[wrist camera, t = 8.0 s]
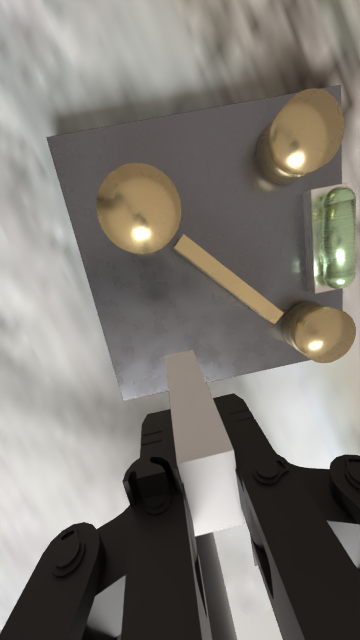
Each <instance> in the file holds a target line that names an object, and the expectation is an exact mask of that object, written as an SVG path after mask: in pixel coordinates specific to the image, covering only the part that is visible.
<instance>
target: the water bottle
mask: <svg viewBox="0 0 360 640" xmlns="http://www.w3.org/2000/svg"><path fill="white" fill-rule="evenodd" d="M195 540H196V547H197V552H198V556H199V560H200V565H201V571H202V578H203V584H204V591H205V597H206V603H207V610H208V616H209V623H210V629H211V635H212V640H237V637H236V632H235V628H234V624H233V619H232V615H231V610H230V606H229V601H228V597H227V592H226V588H225V584H224V579H223V575H222V570H221V566H220V562H219V557H218V553H217V548H216V544H215V539H214V535H213V532H210V533H207V534H203V535H199V536H195Z"/></svg>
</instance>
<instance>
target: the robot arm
mask: <svg viewBox="0 0 360 640" xmlns="http://www.w3.org/2000/svg"><path fill="white" fill-rule="evenodd" d="M164 357H165V366H166V374H167V383H168V391H169V400H170V408H171V409H169V410H164V411H160V412H156V413H151V414H148V415H147V416H146V418H145V420H144V422H143V424H142V432H141V436H142V438H141V450H140V458H139V459H138V460H136V461H135V462H134V463H132V465H131V466H130V467H129V469H128V470H127V471H126V473H125V476H124V479H123V485H124V488H125V491H126V494H127V497H128V500H129V502H130V505H129V507H128V508H127V509H126V510H125V511H124V512H123V513H121V514H120V515H119V516H117V517H116V518H115V519H113V520H111V521H110V522H108V523H106V524H105V525H103V526H101V527H100V528H98V529H96V528H95V527H94V526H93V525H92V524H88V523H85V522H83V523H78V524H73V525H72V526H70V527H68V528H67V529H65V530H63V531H62V532H61V533H60V534H59V535H58V536H57V537H55V538H54V539H53V540H52V541H51V543H50V544H49V546H48V547H47V549H46V550H45V552H44V553H43V554H42V556H41V558H40V560H39V562H38V564H37V566H36V568H35V569H34V571H33V573H32V575H31V577H30V579H29V581H28V583H27V584H26V586H25V588H24V590H23V592H22V594H21V596H20V598H19V599H18V601H17V603H16V605H15V607H14V609H13V611H12V613H11V614H10V616H9V618H8V620H7V622H6V624H5V626H4V628H3V629H2V632H1V634H0V640H212V635H211V629H210V623H209V616H208V610H207V603H206V597H205V591H204V584H203V578H202V571H201V565H200V560H199V556H198V552H197V547H196V540H195V536H199V535H203V534H207V533H210V532H214V531H218V530H222V529H226V528H230V527H233V526H237V525H241V524H245V520H246V523H247V526H248V529H249V532H250V537H251V543H252V550H253V557H254V563H255V566H257V565H258V566H259V569H260V572H261V575H262V578H263V581H264V584H265V587H266V590H267V593H268V596H269V599H270V602H271V605H272V608H273V611H274V614H275V617H276V620H277V623H278V626H279V629H280V632H281V635H282V638H283V640H360V456H358V455H342V456H339V457H336V458H335V459H334V460H333V461H332V462H331V464H330V469H315V468H304V467H299V466H296V465H293V464H290V463H288V461H287V460H286V459H285V458H283V457H281V456H280V455H278V454H277V453H276V452H275V451H274V450H273V448H272V446H271V445H270V443H269V441H268V440H267V438H266V436H265V435H264V433H263V432H262V430H261V428H260V427H259V425H258V423H257V422H256V420H255V419H254V417H253V415H252V413H251V412H250V411H249V408H248V407H247V405H246V403H245V402H244V400H243V399H241V398H240V397H238V396H237V395H235V394H229V395H225V396H221V397H216V398H212V395H211V393H210V390H209V388H208V385H207V383H206V381H205V378H204V376H203V373H202V371H201V368H200V366H199V363H198V361H197V358H196V356H195V354H194V351H193V350H189V351H185V352H180V353H175V354H171V355H166V356H164ZM244 517H245V520H244Z"/></svg>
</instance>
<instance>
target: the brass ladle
mask: <svg viewBox="0 0 360 640" xmlns="http://www.w3.org/2000/svg"><path fill="white" fill-rule="evenodd" d="M97 215H98V219H99V223H100V225H101V227H102V229H103V231H104V233H105V234H106V235H107V237H108V238H109V239H110V240H111V241H112V242H113V243H114V244H115V245H117V246H118V247H120V248H121V249H124V250H126V251H128V252H132V253H138V254H147V253H153V252H156V251H158V250H160V249H162V248H163V247H164V246H166V245H167V244H168V243H169V242H170V241H171V239H172V238H173V237H174V235H175V233H176V232H177V229H178V227H179V224H180V220H181V202H180V197H179V194H178V192H177V189H176V187H175V186H174V184H173V182H172V181H171V180H170V179H169V177H168V176H167V175H166V174H164V173H163V172H162V171H161V170H159V169H157V168H156V167H154V166H151V165H148V164H144V163H129V164H125V165H122V166H120V167H118V168H116V169H115V170H113V171H112V172H111V173H110V174H109V175H108V176H107V177H106V178H105V180H104V181H103V183H102V185H101V187H100V189H99V192H98V196H97ZM172 249H174V250H175V251H176V252H178V253H179V254H180V255H182V256H183V257H184V258H185V259H187V260H188V261H189V262H191V263H192V264H193V265H195V266H196V267H197V268H199V269H200V270H201V271H202V272H204V273H205V274H206V275H208V276H209V277H210V278H212V279H213V280H214V281H216V282H217V283H218V284H220V285H221V286H222V287H223V288H225V289H226V290H227V291H229V292H230V293H231V294H233V295H234V296H235V297H237V298H238V299H239V300H241V301H242V302H243V303H244V304H246V305H247V306H248V307H250V308H251V309H252V310H254V311H255V312H256V313H258V314H259V315H260V316H262V317H263V318H265V319H267V320H268V321H270V322H272V323H273V324H275V323H276V322H277V321H278V319H279V318H280V317H281V316H282V315H283V312H282V311H281V310H280V309H278V308H277V307H276V306H274V305H273V304H272V303H271V302H269V301H268V300H267V299H266V298H264V297H263V296H262V295H260V294H259V293H258V292H257V291H255V290H254V289H253V288H252V287H250V286H249V285H248V284H247V283H245V282H244V281H243V280H241V279H240V278H239V277H238V276H236V275H235V274H234V273H233V272H231V271H230V270H229V269H228V268H226V267H225V266H224V265H222V264H221V263H220V262H219V261H217V260H216V259H215V258H214V257H212V256H211V255H210V254H209V253H207V252H206V251H205V250H203V249H202V248H201V247H200V246H198V245H197V244H196V243H195V242H193V241H192V240H191V239H189V238H188V237H187V236H186V235H184V234H183V235H182V236H180V238H179V239H178V241H177V242H176V244H175V245H174V246H173V248H172Z"/></svg>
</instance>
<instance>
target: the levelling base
mask: <svg viewBox="0 0 360 640" xmlns="http://www.w3.org/2000/svg"><path fill="white" fill-rule="evenodd" d="M343 134H344V117H343V112H342V109H341V85H337V86H332V87H326V88H320V89H317V88H312V89H306V90H303V91H301V92H298V93H292V94H287V95H281V96H275V97H270V98H264V99H259V100H253V101H247V102H242V103H236V104H230V105H225V106H219V107H214V108H208V109H202V110H197V111H191V112H185V113H180V114H174V115H169V116H163V117H157V118H152V119H146V120H140V121H135V122H129V123H124V124H118V125H112V126H107V127H101V128H96V129H90V130H84V131H79V132H73V133H67V134H62V135H56V136H51V137H46V138H47V141H48V145H49V148H50V152H51V155H52V158H53V162H54V165H55V169H56V172H57V175H58V179H59V182H60V186H61V189H62V193H63V196H64V199H65V203H66V206H67V210H68V213H69V216H70V220H71V223H72V227H73V230H74V234H75V237H76V240H77V244H78V247H79V251H80V254H81V258H82V261H83V264H84V268H85V271H86V275H87V278H88V281H89V285H90V288H91V292H92V295H93V299H94V302H95V305H96V309H97V312H98V316H99V319H100V323H101V326H102V329H103V333H104V336H105V340H106V343H107V346H108V350H109V353H110V357H111V360H112V364H113V367H114V370H115V374H116V377H117V381H118V384H119V387H120V391H121V394H122V398H123V401H125V400H129V399H134V398H138V397H143V396H147V395H152V394H157V393H161V392H166V391H168V383H167V374H166V366H165V357H164V356H166V355H171V354H175V353H180V352H185V351H189V350H193V351H194V354H195V356H196V358H197V361H198V363H199V366H200V368H201V371H202V373H203V376H204V378H205V381H206V383H207V382H212V381H216V380H221V379H225V378H230V377H234V376H239V375H244V374H248V373H253V372H257V371H262V370H266V369H271V368H276V367H280V366H285V365H289V364H294V363H298V362H303V361H308V360H313V361H315V362H319V363H329V362H333V361H335V360H337V359H339V358H341V357H342V356H343V355H345V354H346V353H347V352H348V350H349V349H350V348H351V346H352V344H353V342H354V339H355V335H356V327H355V323H354V321H353V319H352V318H351V317H350V316H349V315H348V314H347V313H346V312H343V311H342V288H345V287H347V286H348V285H350V284H351V283H352V282H353V280H354V278H355V241H356V197H355V193H354V192H353V190H352V189H350V188H348V187H347V183H344V184H342V170H341V142H342V138H343ZM129 163H144V164H148V165H151V166H154V167H156V168H157V169H159V170H161V171H162V172H163V173H164V174H166V175H167V176H168V177H169V179H170V180H171V181H172V182H173V184H174V186H175V187H176V189H177V192H178V194H179V197H180V202H181V220H180V224H179V227H178V229H177V232H176V233H175V235H174V237H173V238H172V239H171V241H170V242H169V243H168V244H167V245H166V246H164V247H163V248H162V249H160V250H158V251H156V252H153V253H147V254H138V253H132V252H128V251H126V250H124V249H121V248H120V247H118V246H117V245H115V244H114V243H113V242H112V241H111V240H110V239H109V238H108V237H107V235H106V234H105V233H104V231H103V229H102V227H101V225H100V223H99V219H98V215H97V196H98V192H99V189H100V187H101V185H102V183H103V181H104V180H105V178H106V177H107V176H108V175H109V174H110V173H111V172H112V171H113V170H115V169H116V168H118V167H120V166H122V165H125V164H129ZM183 234H184V235H186V236H187V237H188V238H189V239H191V240H192V241H193V242H195V243H196V244H197V245H198V246H200V247H201V248H202V249H203V250H205V251H206V252H207V253H209V254H210V255H211V256H212V257H214V258H215V259H216V260H217V261H219V262H220V263H221V264H222V265H224V266H225V267H226V268H228V269H229V270H230V271H231V272H233V273H234V274H235V275H236V276H238V277H239V278H240V279H241V280H243V281H244V282H245V283H247V284H248V285H249V286H250V287H252V288H253V289H254V290H255V291H257V292H258V293H259V294H260V295H262V296H263V297H264V298H266V299H267V300H268V301H269V302H271V303H272V304H273V305H274V306H276V307H277V308H278V309H280V310H281V311H282V312H283V315H282V316H281V317H280V318H279V319H278V321H277V322H276V323H275V324H273V323H272V322H270V321H268V320H267V319H265V318H263V317H262V316H260V315H259V314H258V313H256V312H255V311H254V310H252V309H251V308H250V307H248V306H247V305H246V304H244V303H243V302H242V301H241V300H239V299H238V298H237V297H235V296H234V295H233V294H231V293H230V292H229V291H227V290H226V289H225V288H223V287H222V286H221V285H220V284H218V283H217V282H216V281H214V280H213V279H212V278H210V277H209V276H208V275H206V274H205V273H204V272H202V271H201V270H200V269H199V268H197V267H196V266H195V265H193V264H192V263H191V262H189V261H188V260H187V259H185V258H184V257H183V256H182V255H180V254H179V253H178V252H176V251H175V250H174V249H172V248H173V246H174V245H175V244H176V242H177V241H178V239H179V238H180V236H182V235H183Z"/></svg>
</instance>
